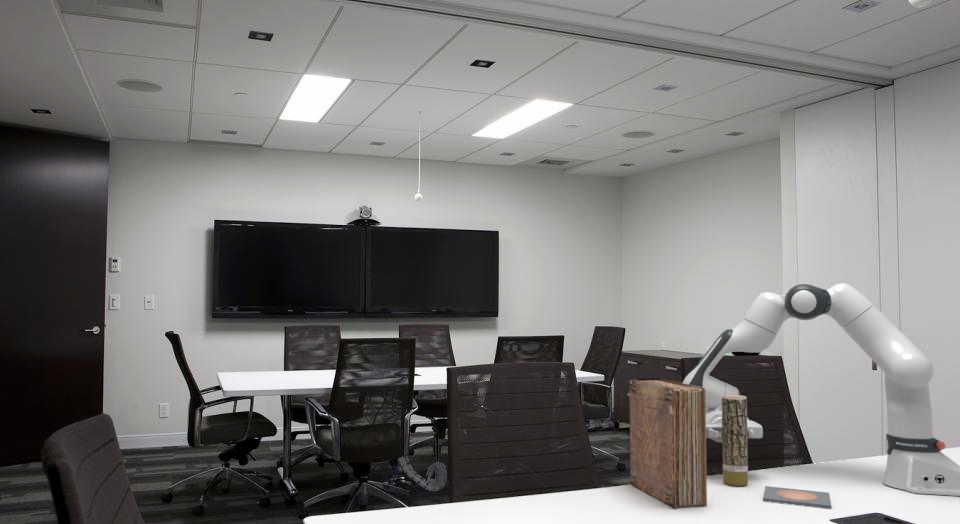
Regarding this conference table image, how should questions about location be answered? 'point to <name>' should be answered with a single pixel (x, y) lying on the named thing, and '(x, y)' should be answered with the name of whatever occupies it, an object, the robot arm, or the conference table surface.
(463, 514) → the conference table surface
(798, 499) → the card
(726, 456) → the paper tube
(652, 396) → the book
